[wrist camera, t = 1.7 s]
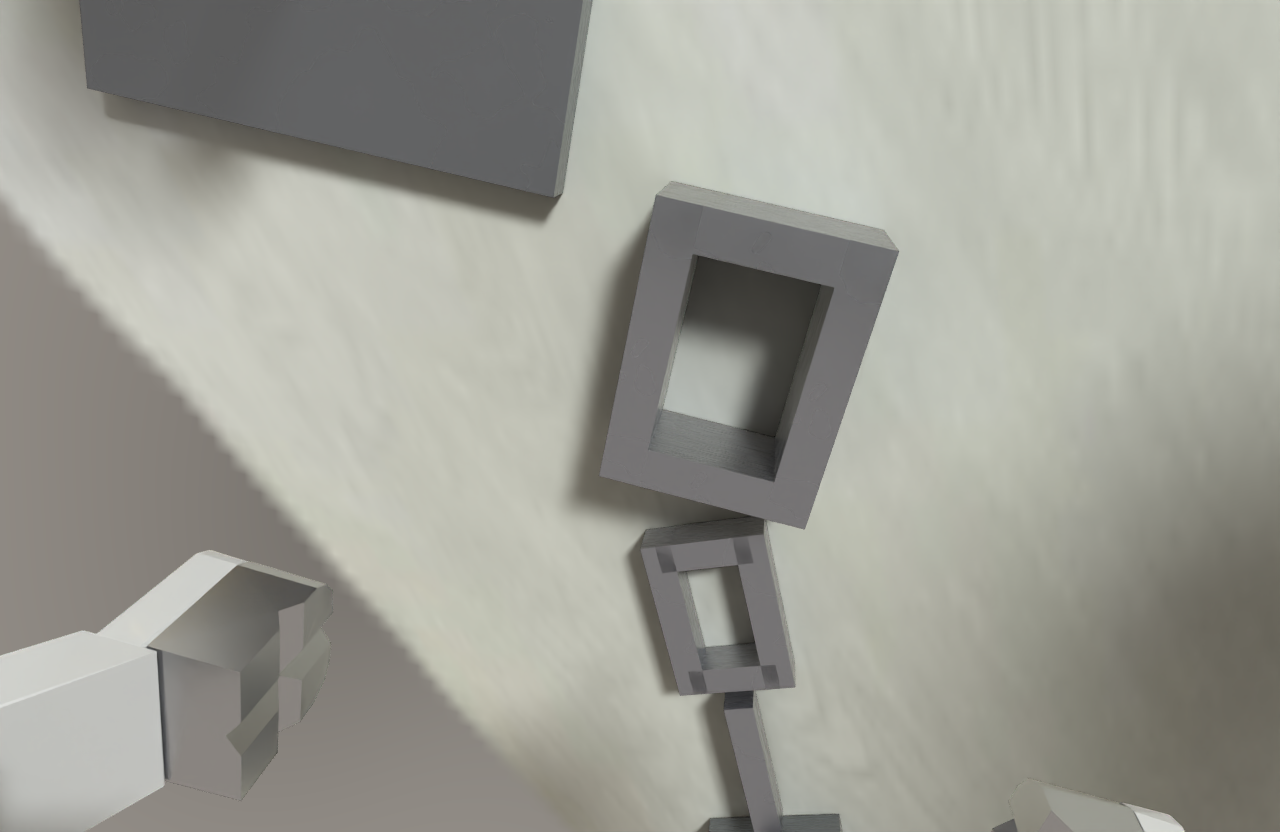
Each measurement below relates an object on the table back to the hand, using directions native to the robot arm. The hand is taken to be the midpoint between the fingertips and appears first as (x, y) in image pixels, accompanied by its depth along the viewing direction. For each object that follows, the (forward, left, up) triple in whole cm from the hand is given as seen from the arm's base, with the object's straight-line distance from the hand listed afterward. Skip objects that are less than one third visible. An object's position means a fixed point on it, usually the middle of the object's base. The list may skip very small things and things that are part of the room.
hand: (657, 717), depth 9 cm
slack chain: (-4, +14, -16) cm, 22 cm away
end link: (0, 0, -16) cm, 16 cm away
